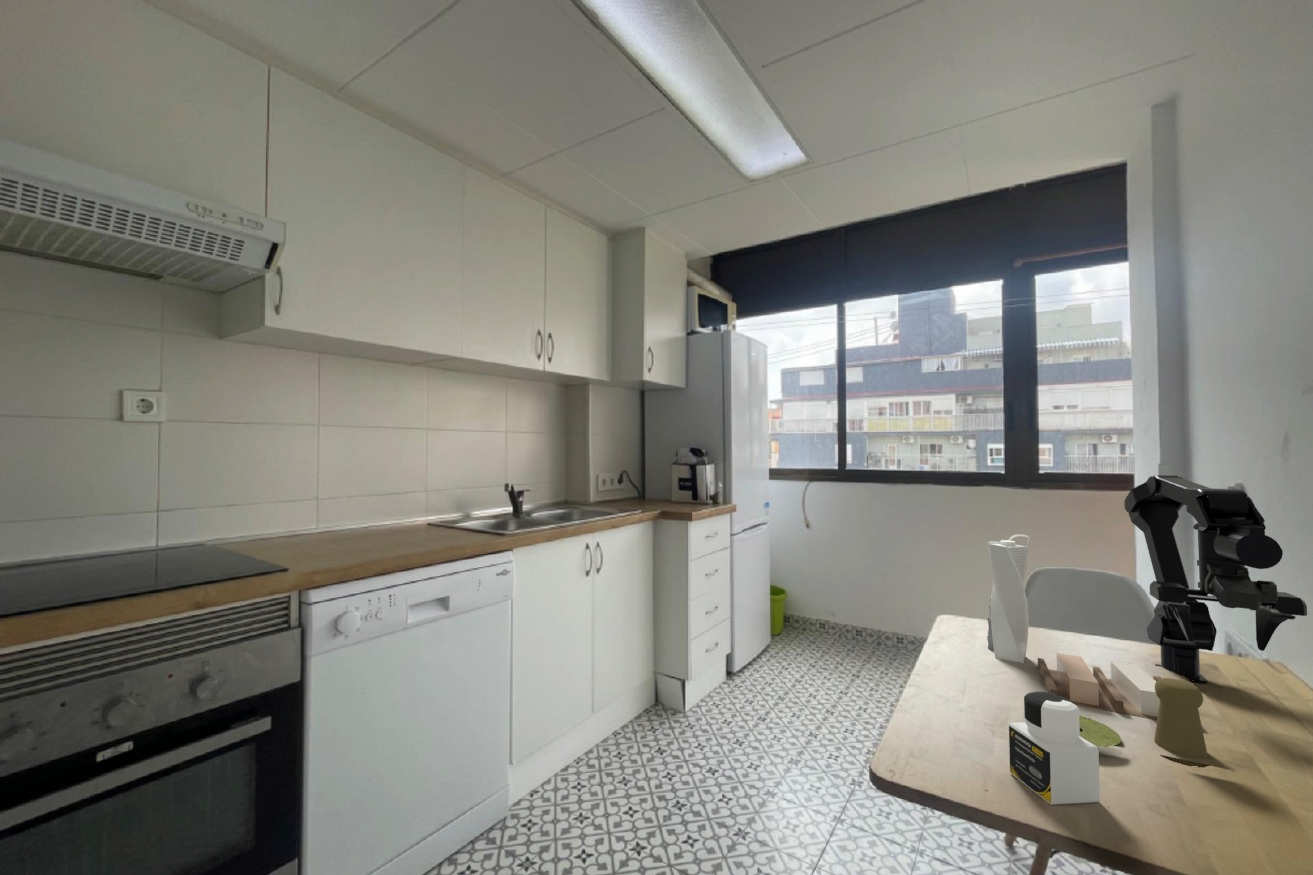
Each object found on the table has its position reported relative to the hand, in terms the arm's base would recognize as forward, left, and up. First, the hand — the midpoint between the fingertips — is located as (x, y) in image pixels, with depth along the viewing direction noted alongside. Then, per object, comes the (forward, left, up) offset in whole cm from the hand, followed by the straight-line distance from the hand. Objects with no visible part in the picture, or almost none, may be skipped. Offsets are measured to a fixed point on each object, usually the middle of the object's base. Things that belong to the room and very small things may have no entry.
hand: (1224, 645), depth 95 cm
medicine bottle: (+44, -31, -11) cm, 55 cm away
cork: (+25, -13, -11) cm, 30 cm away
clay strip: (+7, -14, -10) cm, 18 cm away
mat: (+27, -26, -11) cm, 39 cm away
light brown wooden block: (+7, -23, -10) cm, 25 cm away
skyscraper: (-6, -32, -11) cm, 34 cm away
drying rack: (+7, -18, -11) cm, 22 cm away
